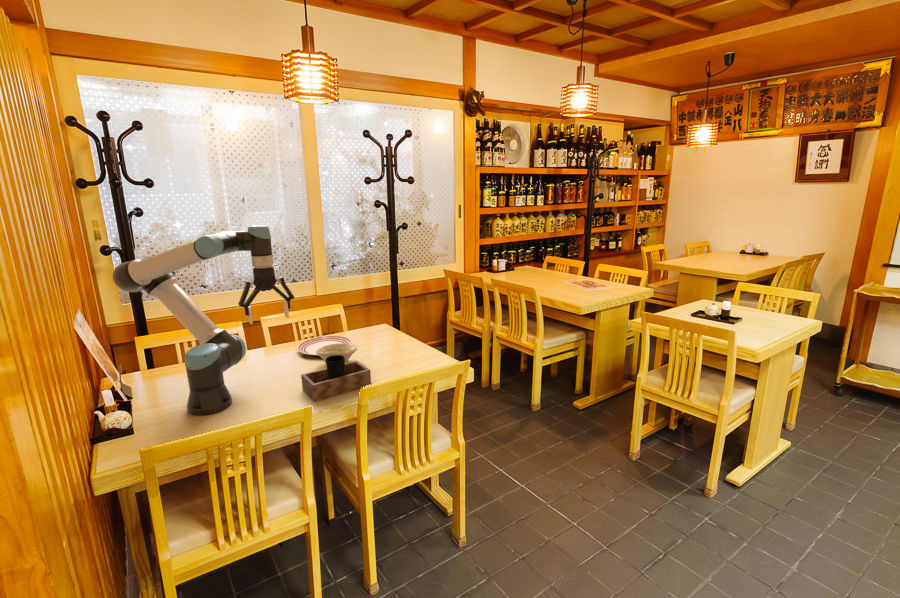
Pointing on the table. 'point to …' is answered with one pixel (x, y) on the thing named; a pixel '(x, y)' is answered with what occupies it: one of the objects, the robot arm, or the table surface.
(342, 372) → the cup
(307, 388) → the open wooden box
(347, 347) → the bowl
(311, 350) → the dinner plate
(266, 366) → the table surface
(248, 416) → the table surface
